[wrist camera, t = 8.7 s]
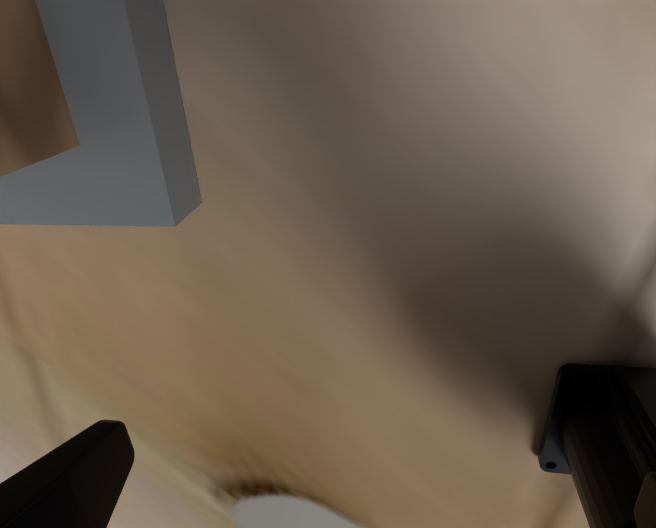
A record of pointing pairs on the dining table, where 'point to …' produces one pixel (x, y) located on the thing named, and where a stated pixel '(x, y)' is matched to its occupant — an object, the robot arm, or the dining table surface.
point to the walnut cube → (29, 91)
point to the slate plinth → (110, 123)
